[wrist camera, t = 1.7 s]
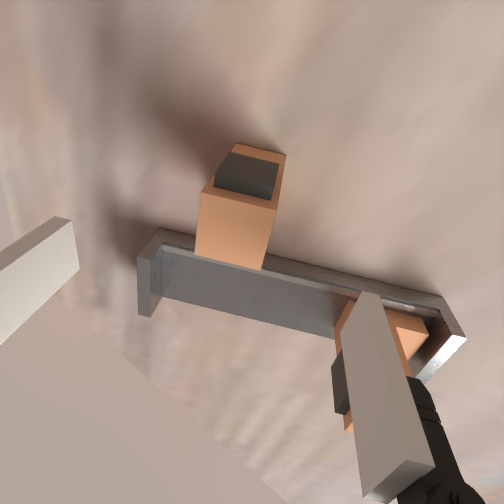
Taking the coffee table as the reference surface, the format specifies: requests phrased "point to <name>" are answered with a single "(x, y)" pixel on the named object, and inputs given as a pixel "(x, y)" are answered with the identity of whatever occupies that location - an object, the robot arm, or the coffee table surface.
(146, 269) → the rail
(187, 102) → the coffee table surface
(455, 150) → the coffee table surface
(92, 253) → the coffee table surface
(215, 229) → the block
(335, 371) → the fixed finger
